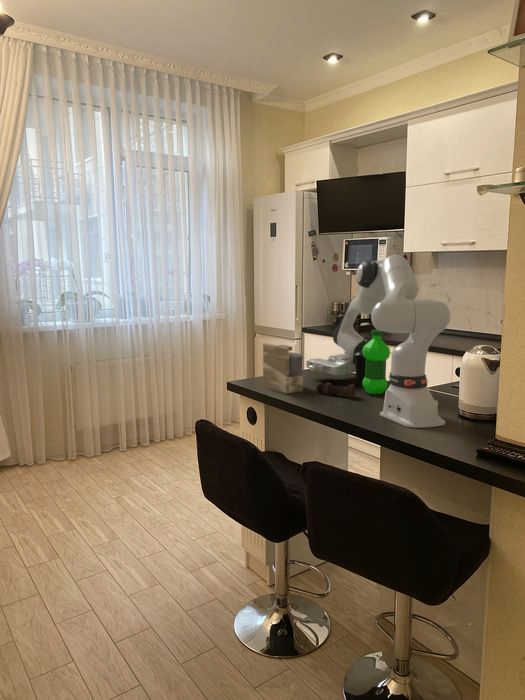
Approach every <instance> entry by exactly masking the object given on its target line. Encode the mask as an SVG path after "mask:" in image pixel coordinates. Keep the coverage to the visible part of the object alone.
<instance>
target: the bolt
mask: <svg viewBox="0 0 525 700" xmlns="http://www.w3.org/2000/svg"><path fill="white" fill-rule="evenodd" d="M316 392H318V393H322V394H324V395H325V394H326V396H330V395H331V394H334V395H340V396H346V398H347V399H349V398H351V399H354V398H355V396H356V386H355V384H353V383H352V384H351V383H349V384H348V385H347V386H340V385H333V384H332V383H331V382H327V383H324V384H323V383H322V384H320V383H319V384H317V385H316ZM329 394H330V395H329ZM353 397H354V398H353Z"/></svg>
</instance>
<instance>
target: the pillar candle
mask: <svg viewBox="0 0 525 700" xmlns="http://www.w3.org/2000/svg"><path fill="white" fill-rule="evenodd" d="M291 351H292V350H291ZM291 351H289V377H294V376H303V354H302V353H298V352H297V353H296V352H291Z"/></svg>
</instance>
